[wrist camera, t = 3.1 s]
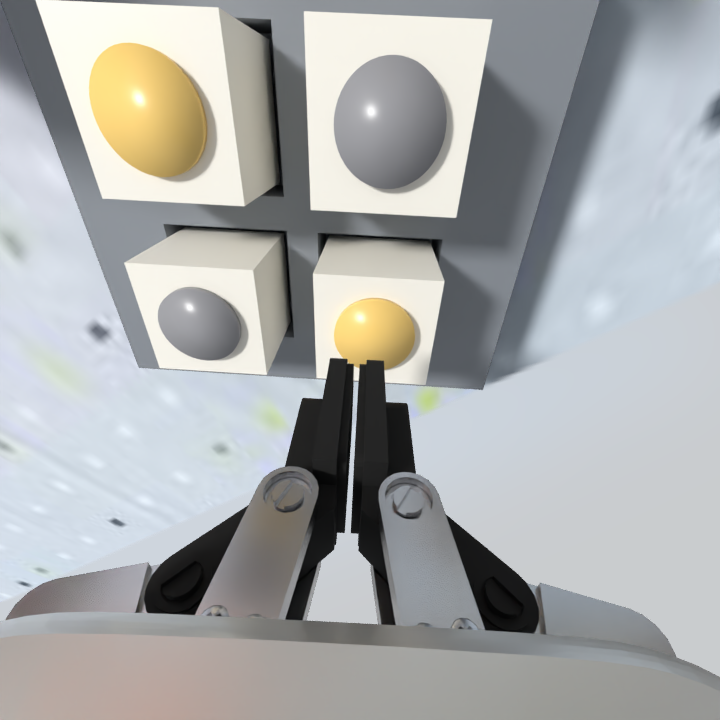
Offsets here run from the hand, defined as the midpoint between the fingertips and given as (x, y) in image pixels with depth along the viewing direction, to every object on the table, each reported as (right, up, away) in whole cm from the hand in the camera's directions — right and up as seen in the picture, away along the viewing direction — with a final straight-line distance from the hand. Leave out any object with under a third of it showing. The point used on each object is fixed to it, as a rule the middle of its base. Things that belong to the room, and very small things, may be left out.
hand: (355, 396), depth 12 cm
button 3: (+1, +11, +3) cm, 11 cm away
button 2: (-6, +5, +7) cm, 11 cm away
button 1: (-6, +11, +3) cm, 13 cm away
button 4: (+1, +5, +7) cm, 9 cm away
